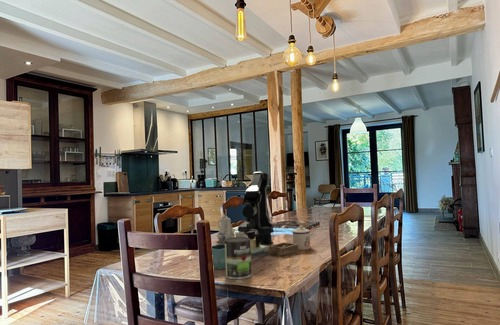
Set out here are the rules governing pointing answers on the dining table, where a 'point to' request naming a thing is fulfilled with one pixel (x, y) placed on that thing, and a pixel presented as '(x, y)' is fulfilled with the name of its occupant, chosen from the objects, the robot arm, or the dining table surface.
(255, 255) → the coaster
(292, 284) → the dining table surface
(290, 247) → the box
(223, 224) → the chinaware
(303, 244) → the teacup with lid
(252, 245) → the lid
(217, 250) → the flower pot
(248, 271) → the coffee can
